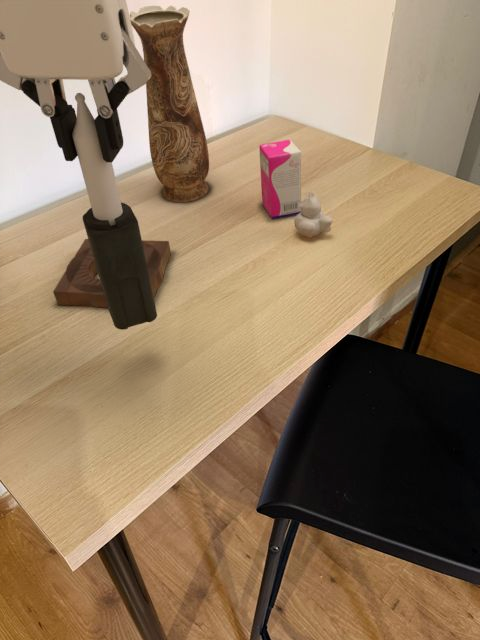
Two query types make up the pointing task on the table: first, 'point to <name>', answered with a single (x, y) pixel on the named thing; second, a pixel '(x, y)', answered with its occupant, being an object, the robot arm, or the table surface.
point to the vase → (172, 105)
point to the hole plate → (88, 290)
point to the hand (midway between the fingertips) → (93, 153)
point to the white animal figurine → (312, 217)
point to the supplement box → (280, 178)
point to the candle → (112, 231)
